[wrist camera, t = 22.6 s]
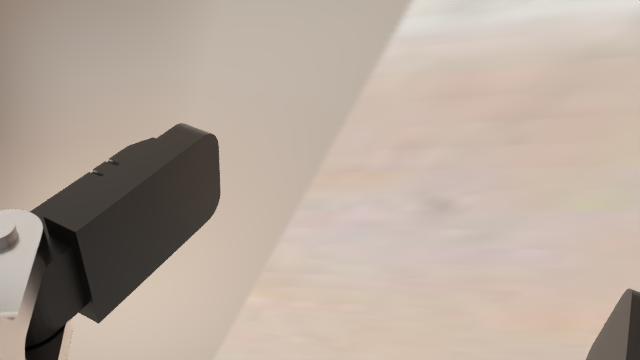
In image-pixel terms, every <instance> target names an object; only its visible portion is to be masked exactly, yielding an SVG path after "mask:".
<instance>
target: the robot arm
mask: <svg viewBox="0 0 640 360" xmlns="http://www.w3.org/2000/svg"><path fill="white" fill-rule="evenodd" d="M219 199H220V171H219V146H218V140H217V138H216V136H215V135H213V134H211V133H208V132H205V131H203V130H200V129H197V128H194V127H192V126H189V125H187V124H183V123H181V124H177V125H175V126H174V127H172V128H171V129H169V130H168V131H167V132H165V133H164V134H163V135H161V136H159V137H158V138H151V139H148V140H144V141H141V142H138V143H135V144H133V145H130V146H127V147H126V148H125V149H123V150H121V151H120V152H118V153H117V154H115V155H114V156H113V157H111V158H109V161H108V162H104V163H102V164H101V165H99V166H98V167H96V168H95V169H93V172H92V173H90V172H89V173H87V174H86V175H84V176H83V177H81V178H80V179H78V180H77V181H75V182H74V183H72V184H71V185H69V186H68V187H66V188H65V189H63V190H62V191H60V192H59V193H57V194H56V195H54V196H53V197H51V198H50V199H48V200H47V201H45V202H44V203H42V204H41V205H40V206H38V207H36V208H35V209H33V210H32V211H30V212H28V211H24V210H18V209H6V210H0V360H67V357H68V352H69V348H70V343H71V338H72V332H73V327H72V322H71V319H72V317H74V316H75V315H76V314H77V313H78V312H79V313H81V314H82V315H84V316H86V317H88V318H90V319H92V320H93V321H95V322H97V323H100V322H101V321H102V320H103V319H104V318H105V317H106V316H107V315H108V314H109V313H110V312H111V311H113V310H114V308H116V307H117V306H118V305H119V304H120V303H121V302H122V301H123V300H124V299H125V298H126V297H127V296H129V295H130V294H131V293H132V292H133V291H134V290H135V289H136V288H137V287H138V286H139V285H140V284H141V283H142V282H143V281H144V280H146V279H147V278H148V276H150V275H151V274H152V273H153V272H154V271H155V270H156V269H157V268H158V267H159V266H160V265H161V264H162V263H164V262H165V261H166V260H167V259H168V258H169V257H170V256H171V255H172V254H173V253H174V252H175V251H176V250H177V249H178V248H179V247H181V246H182V244H184V243H185V242H186V241H187V240H188V239H189V238H190V237H191V236H192V235H193V234H194V233H195V232H197V231H198V230H199V228H201V227H202V226H203V225H204V224H205V223H206V222H207V221H208V220H209V219H210V218H211V216H212V215H213V214H214V212H215V210H216V208H217V205H218V202H219ZM586 360H640V292H637V291H635V290H632V289H627V290H626V291H625V292H624V294H623V295H622V297H621V298H620V300H619V302H618V303H617V305H616V307H615V308H614V310H613V312H612V313H611V315H610V317H609V318H608V320H607V322H606V323H605V325H604V327H603V328H602V330H601V332H600V333H599V335H598V337H597V338H596V340H595V342H594V343H593V345H592V347H591V349H590V351H589V354H588V356H587V358H586Z"/></svg>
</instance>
